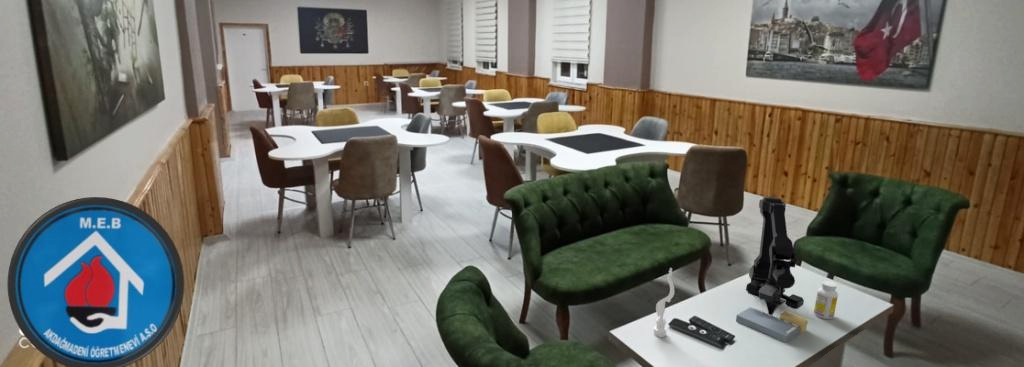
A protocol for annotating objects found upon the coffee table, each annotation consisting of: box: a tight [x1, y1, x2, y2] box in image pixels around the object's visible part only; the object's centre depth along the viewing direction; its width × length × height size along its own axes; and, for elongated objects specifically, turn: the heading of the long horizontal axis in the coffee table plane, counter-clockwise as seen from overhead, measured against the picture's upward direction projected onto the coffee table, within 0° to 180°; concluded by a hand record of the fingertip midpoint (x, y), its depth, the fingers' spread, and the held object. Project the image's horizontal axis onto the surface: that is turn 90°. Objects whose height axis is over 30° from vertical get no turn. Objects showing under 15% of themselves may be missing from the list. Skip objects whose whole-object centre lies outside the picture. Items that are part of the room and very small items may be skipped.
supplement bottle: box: [813, 280, 839, 320], centre depth 207 cm, size 7×7×13 cm
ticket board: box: [735, 306, 800, 343], centre depth 198 cm, size 18×10×3 cm, turn 40°
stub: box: [779, 310, 809, 334], centre depth 199 cm, size 8×4×4 cm, turn 40°
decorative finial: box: [653, 267, 675, 338], centre depth 188 cm, size 6×4×25 cm
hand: (770, 315), depth 205 cm, fingers closed
